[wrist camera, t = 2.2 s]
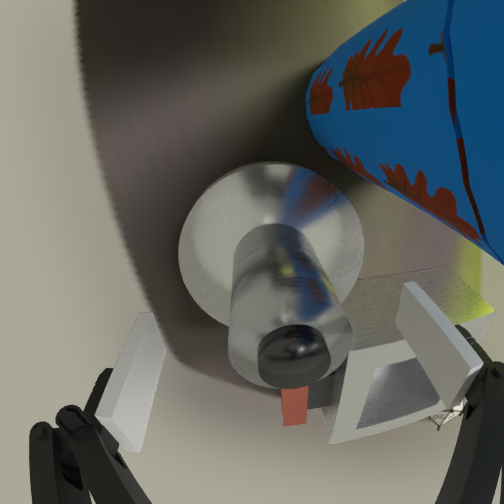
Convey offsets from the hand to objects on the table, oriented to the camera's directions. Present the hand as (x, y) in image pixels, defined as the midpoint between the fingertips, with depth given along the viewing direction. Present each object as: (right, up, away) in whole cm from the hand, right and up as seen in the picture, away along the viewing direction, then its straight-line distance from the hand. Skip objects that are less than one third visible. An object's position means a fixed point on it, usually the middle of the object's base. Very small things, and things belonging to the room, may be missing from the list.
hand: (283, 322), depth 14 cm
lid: (0, +5, +10) cm, 11 cm away
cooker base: (+13, -6, +15) cm, 21 cm away
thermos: (+8, +15, +6) cm, 18 cm away
